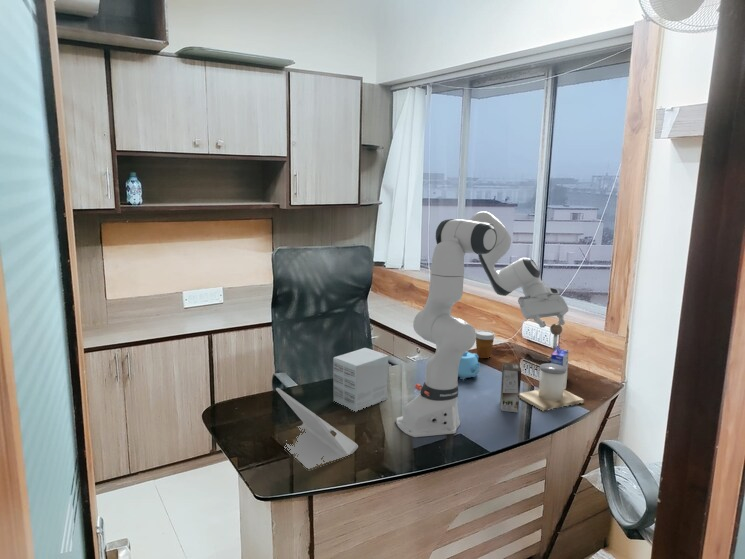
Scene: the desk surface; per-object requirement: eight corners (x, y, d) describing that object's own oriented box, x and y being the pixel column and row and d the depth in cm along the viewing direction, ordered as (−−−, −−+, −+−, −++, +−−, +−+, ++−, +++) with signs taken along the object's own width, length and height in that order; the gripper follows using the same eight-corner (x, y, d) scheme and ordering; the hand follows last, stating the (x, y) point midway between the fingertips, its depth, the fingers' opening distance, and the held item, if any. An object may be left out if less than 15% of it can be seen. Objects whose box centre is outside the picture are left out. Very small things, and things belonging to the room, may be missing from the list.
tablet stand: (308, 471, 150) (308, 417, 147) (270, 437, 170) (268, 388, 166) (359, 453, 161) (359, 401, 158) (317, 422, 180) (317, 376, 177)
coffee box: (518, 412, 190) (521, 371, 187) (500, 411, 191) (503, 369, 188) (517, 402, 199) (520, 362, 196) (499, 401, 200) (502, 361, 197)
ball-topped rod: (554, 351, 195) (556, 325, 193) (545, 348, 199) (548, 322, 197) (563, 350, 197) (565, 324, 195) (554, 347, 201) (557, 321, 199)
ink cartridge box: (554, 374, 229) (557, 342, 226) (567, 376, 226) (570, 345, 223) (548, 381, 221) (551, 348, 218) (562, 384, 218) (565, 351, 215)
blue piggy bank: (442, 379, 221) (443, 353, 219) (449, 368, 234) (450, 344, 232) (478, 384, 216) (480, 358, 214) (483, 373, 229) (484, 348, 227)
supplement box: (364, 389, 209) (365, 346, 206) (388, 399, 200) (389, 355, 196) (332, 401, 197) (332, 356, 194) (355, 413, 188) (356, 365, 184)
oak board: (542, 411, 191) (542, 407, 191) (517, 397, 204) (518, 393, 204) (583, 403, 199) (583, 399, 199) (557, 389, 212) (557, 386, 212)
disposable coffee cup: (473, 359, 247) (475, 335, 245) (473, 352, 256) (474, 329, 254) (494, 360, 245) (495, 336, 243) (493, 354, 255) (494, 330, 252)
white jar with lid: (549, 403, 195) (552, 373, 193) (532, 393, 204) (534, 365, 202) (572, 398, 200) (575, 369, 197) (554, 389, 208) (557, 361, 206)
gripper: (520, 292, 198) (536, 324, 191) (561, 289, 206) (577, 318, 199) (512, 301, 203) (527, 332, 196) (552, 297, 211) (568, 327, 204)
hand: (553, 325), depth 198 cm, fingers open, 8 cm apart
